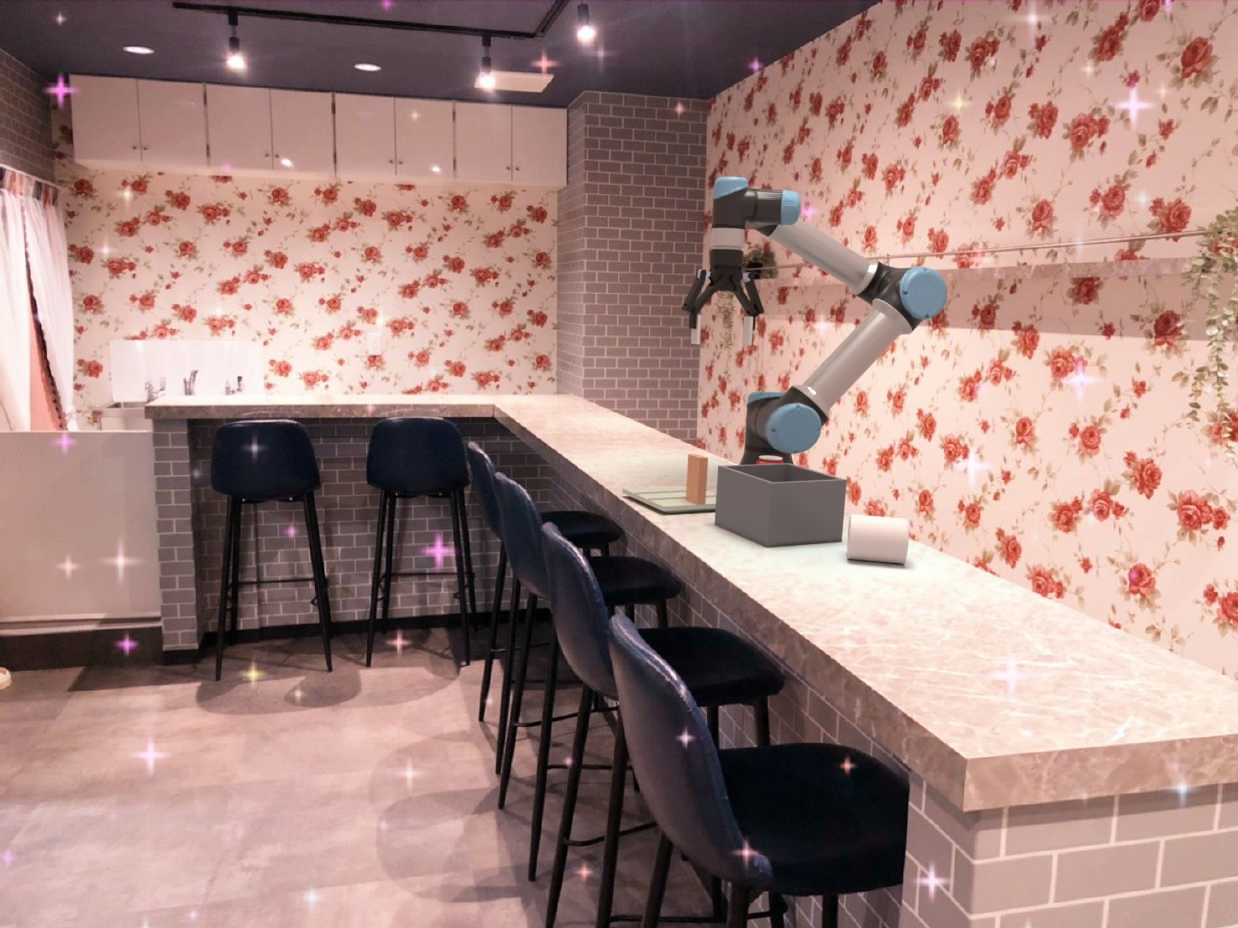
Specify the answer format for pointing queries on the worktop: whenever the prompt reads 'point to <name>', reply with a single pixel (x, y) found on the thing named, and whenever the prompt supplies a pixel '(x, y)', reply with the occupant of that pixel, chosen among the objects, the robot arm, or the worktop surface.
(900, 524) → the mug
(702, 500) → the lid
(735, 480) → the tub
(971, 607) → the worktop surface
